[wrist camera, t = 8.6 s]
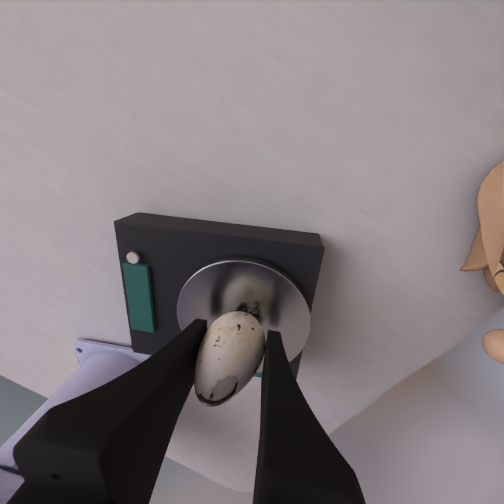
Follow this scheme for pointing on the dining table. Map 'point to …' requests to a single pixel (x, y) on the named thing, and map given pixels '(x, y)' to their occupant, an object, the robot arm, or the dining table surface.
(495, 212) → the flower patterned turtle figurine
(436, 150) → the dining table surface
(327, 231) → the dining table surface
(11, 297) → the dining table surface
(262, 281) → the scale pan
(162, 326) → the scale
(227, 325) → the egg
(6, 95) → the dining table surface
